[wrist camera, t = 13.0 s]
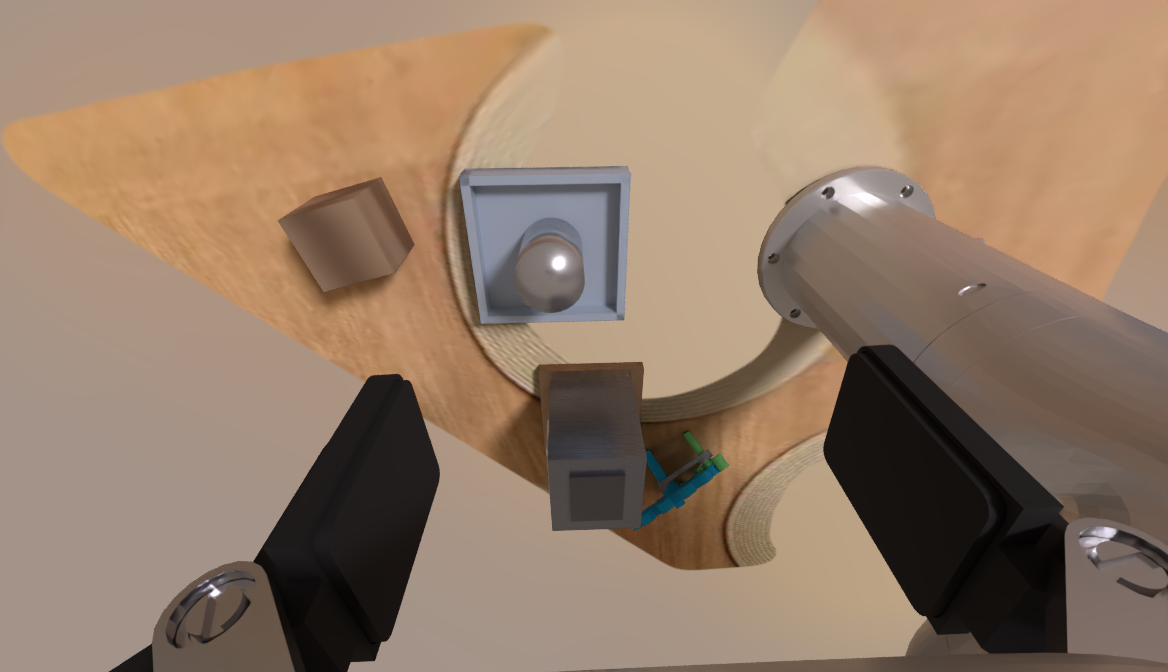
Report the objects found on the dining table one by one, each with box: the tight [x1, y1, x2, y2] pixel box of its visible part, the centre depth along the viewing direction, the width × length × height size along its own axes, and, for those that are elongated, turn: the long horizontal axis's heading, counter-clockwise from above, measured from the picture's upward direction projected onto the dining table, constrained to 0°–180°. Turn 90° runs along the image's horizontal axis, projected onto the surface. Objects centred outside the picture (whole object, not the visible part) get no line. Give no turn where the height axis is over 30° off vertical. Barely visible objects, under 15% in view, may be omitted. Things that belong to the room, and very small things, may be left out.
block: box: [278, 177, 414, 292], centre depth 31 cm, size 5×5×5 cm
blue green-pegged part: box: [633, 431, 729, 531], centre depth 45 cm, size 11×6×10 cm
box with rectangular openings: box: [538, 362, 647, 531], centre depth 39 cm, size 9×10×10 cm
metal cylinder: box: [514, 218, 585, 313], centre depth 31 cm, size 4×4×6 cm
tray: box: [459, 166, 631, 324], centre depth 34 cm, size 11×11×2 cm
